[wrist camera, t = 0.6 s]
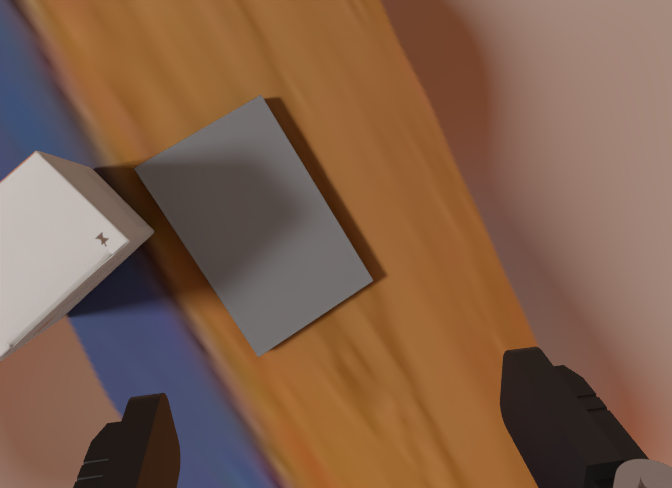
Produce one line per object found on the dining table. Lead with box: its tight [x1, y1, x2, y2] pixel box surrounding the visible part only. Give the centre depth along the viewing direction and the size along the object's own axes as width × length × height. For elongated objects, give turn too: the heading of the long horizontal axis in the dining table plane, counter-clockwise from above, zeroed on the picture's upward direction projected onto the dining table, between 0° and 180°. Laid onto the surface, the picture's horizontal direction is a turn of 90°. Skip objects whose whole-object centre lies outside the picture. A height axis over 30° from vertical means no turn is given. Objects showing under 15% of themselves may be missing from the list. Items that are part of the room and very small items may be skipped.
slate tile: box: [134, 95, 373, 357], centre depth 36 cm, size 14×9×1 cm, turn 32°
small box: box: [0, 151, 155, 361], centre depth 29 cm, size 8×6×10 cm
